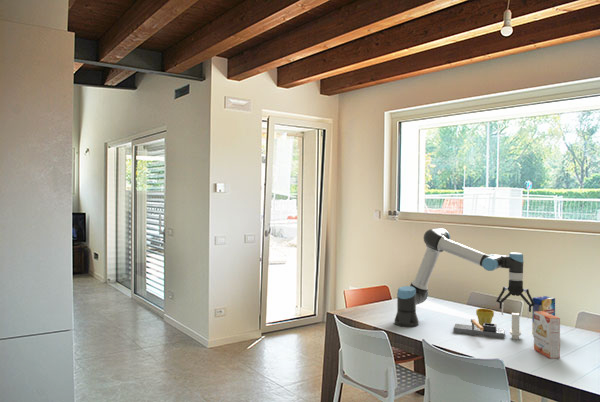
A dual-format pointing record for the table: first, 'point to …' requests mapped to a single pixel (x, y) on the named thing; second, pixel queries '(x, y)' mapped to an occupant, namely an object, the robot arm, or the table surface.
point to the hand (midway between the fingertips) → (515, 315)
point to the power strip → (487, 331)
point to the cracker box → (547, 334)
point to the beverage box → (543, 306)
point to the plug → (515, 326)
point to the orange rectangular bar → (476, 324)
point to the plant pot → (484, 316)
